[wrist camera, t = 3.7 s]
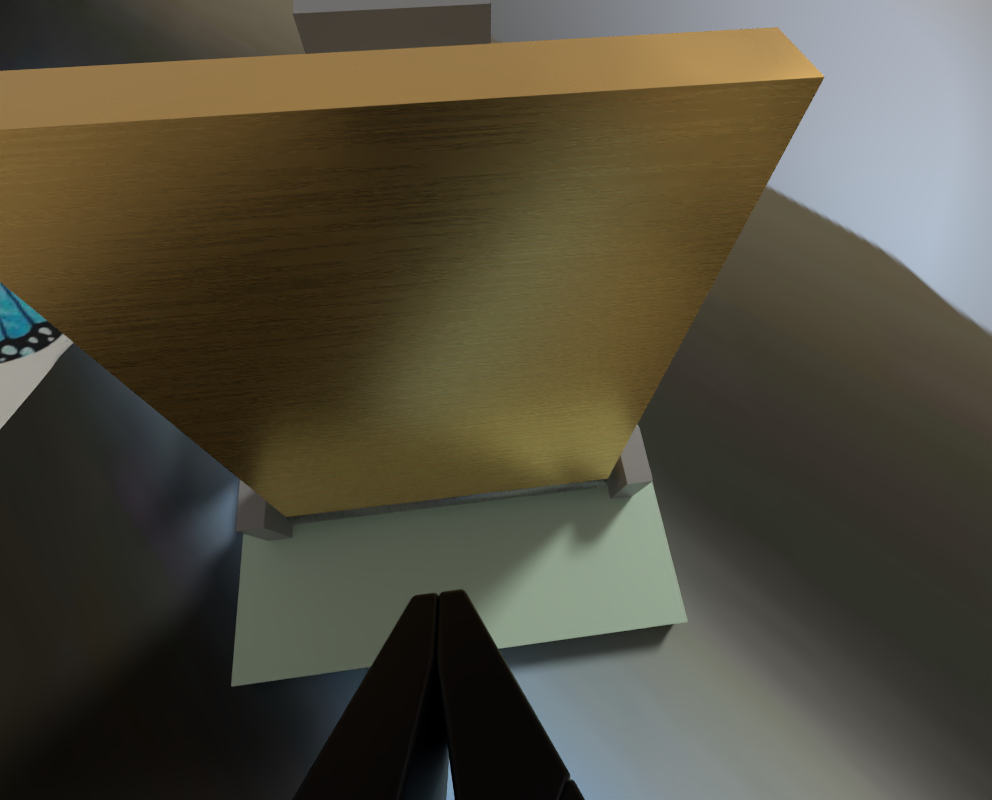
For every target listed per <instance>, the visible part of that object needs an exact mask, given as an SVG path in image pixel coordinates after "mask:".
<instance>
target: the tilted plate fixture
mask: <svg viewBox="0 0 992 800" xmlns="http://www.w3.org/2000/svg"><path fill="white" fill-rule="evenodd" d="M293 16H294V19H295V22H296V25H297V28H298V31H299V34H300V38H301V41H302V44H303V47H304V50H305V53H306V54H314V53H331V52H349V51H367V50H385V49H403V48H420V47H438V46H456V45H474V44H491V2H490V0H294V2H293ZM652 481H653V479H652V475H651V471H650V467H649V463H648V460H647V456H646V452H645V448H644V444H643V440H642V436H641V432H640V428H639V426H638V425H637V426H636V427H635V429H634V431H633V433H632V435H631V437H630V438H629V440H628V442H627V444H626V446H625V448H624V450H623V451H622V453H621V455H620V457H619V459H618V461H617V463H616V464H615V466H614V468H613V470H612V472H611V474H610V476H609V477H608V482H607V485H606V487H602V488H593V489H585V490H577V491H569V492H560V493H552V494H544V495H536V496H527V497H519V498H511V499H502V500H494V501H486V502H478V503H469V504H461V505H453V506H445V507H436V508H428V509H420V510H411V511H403V512H395V513H387V514H378V515H370V516H362V517H354V518H345V519H337V520H329V521H320V522H312V523H304V524H296V525H291V524H290V523H289V522H288V521H287V519H286V517H285V516H284V515H283V514H281V513H280V512H279V511H278V510H277V509H275V508H274V507H273V506H272V505H271V504H269V503H268V502H267V501H266V500H264V499H263V498H262V497H261V496H260V495H258V494H257V493H256V492H255V491H254V490H252V489H251V488H250V487H249V486H247V485H246V484H245V483H244V482H243V481H241V480H240V484H239V495H238V507H237V518H236V530H235V532H239V533H242V534H243V544H242V557H241V569H240V582H239V594H238V607H237V619H236V632H235V644H234V657H233V669H232V682H231V687H232V686H239V685H246V684H253V683H260V682H267V681H274V680H282V679H289V678H296V677H303V676H310V675H317V674H324V673H331V672H338V671H345V670H352V669H359V668H366V667H371V665H372V664H373V662H374V660H375V659H376V657H377V655H378V654H379V652H380V650H381V648H382V647H383V645H384V643H385V642H386V640H387V638H388V637H389V635H390V633H391V632H392V630H393V628H394V626H395V625H396V623H397V621H398V620H399V618H400V616H401V615H402V613H403V611H404V609H405V608H406V606H407V604H408V603H409V601H410V599H411V598H412V597H413V596H415V595H419V594H427V593H437V594H438V595H440V593H441V592H443V591H450V590H457V589H463V590H464V591H465V592H466V593H467V595H468V596H469V598H470V600H471V602H472V603H473V605H474V607H475V609H476V610H477V612H478V614H479V616H480V617H481V619H482V621H483V623H484V624H485V626H486V628H487V630H488V631H489V633H490V635H491V637H492V638H493V640H494V642H495V644H496V645H497V647H498V649H500V648H507V647H514V646H521V645H528V644H535V643H542V642H549V641H556V640H563V639H570V638H577V637H585V636H592V635H599V634H606V633H613V632H620V631H627V630H634V629H641V628H648V627H655V626H662V625H669V624H676V623H683V622H688V621H687V617H686V613H685V609H684V605H683V601H682V597H681V593H680V589H679V585H678V582H677V578H676V574H675V570H674V566H673V562H672V558H671V554H670V550H669V546H668V542H667V539H666V535H665V531H664V527H663V523H662V519H661V515H660V511H659V507H658V503H657V499H656V496H655V492H654V488H653V484H652Z"/></svg>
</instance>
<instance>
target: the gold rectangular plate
mask: <svg viewBox="0 0 992 800" xmlns="http://www.w3.org/2000/svg"><path fill="white" fill-rule="evenodd" d="M823 79H824V76H823V75H822V74H821V73H820V72H819V71H818V70H817V69H816V67H815V66H814V65H813V64H812V63H811V62H810V61H809V60H808V59H807V58H806V57H805V56H804V55H803V54H802V53H801V52H800V51H799V50H798V48H797V47H796V46H795V45H794V44H793V43H792V42H791V41H790V40H789V39H788V38H787V37H786V36H785V35H784V34H783V33H782V32H781V31H780V30H779V28H777V27H776V28H760V29H759V28H758V29H740V30H724V31H705V32H687V33H670V34H651V35H635V36H618V37H599V38H580V39H563V40H545V41H530V42H529V41H528V42H510V43H491V44H474V45H456V46H438V47H420V48H403V49H385V50H367V51H349V52H331V53H314V54H296V55H278V56H260V57H243V58H225V59H207V60H189V61H171V62H154V63H136V64H118V65H100V66H83V67H65V68H47V69H29V70H11V71H0V282H1V283H2V284H3V285H4V286H6V287H7V288H8V289H9V290H10V291H12V292H13V293H14V294H15V295H17V296H18V297H19V298H20V299H21V300H23V301H24V302H25V303H26V304H27V305H29V306H30V307H31V308H32V309H34V310H35V311H36V312H37V313H38V314H40V315H41V316H42V317H43V318H44V319H46V320H47V321H48V322H49V323H51V324H52V325H53V326H54V327H55V328H57V329H58V330H59V331H60V332H61V333H63V334H64V335H65V336H66V337H68V338H69V339H70V340H71V341H72V342H74V343H75V344H76V345H77V346H79V347H80V348H81V349H82V350H83V351H85V352H86V353H87V354H88V355H89V356H91V357H92V358H93V359H94V360H96V361H97V362H98V363H99V364H100V365H102V366H103V367H104V368H105V369H106V370H108V371H109V372H110V373H111V374H113V375H114V376H115V377H116V378H117V379H119V380H120V381H121V382H122V383H123V384H125V385H126V386H127V387H128V388H130V389H131V390H132V391H133V392H134V393H136V394H137V395H138V396H139V397H140V398H142V399H143V400H144V401H145V402H147V403H148V404H149V405H150V406H151V407H153V408H154V409H155V410H156V411H158V412H159V413H160V414H161V415H162V416H164V417H165V418H166V419H167V420H168V421H170V422H171V423H172V424H173V425H175V426H176V427H177V428H178V429H179V430H181V431H182V432H183V433H184V434H185V435H187V436H188V437H189V438H190V439H192V440H193V441H194V442H195V443H196V444H198V445H199V446H200V447H201V448H202V449H204V450H205V451H206V452H207V453H209V454H210V455H211V456H212V457H213V458H215V459H216V460H217V461H218V462H219V463H221V464H222V465H223V466H224V467H226V468H227V469H228V470H229V471H230V472H232V473H233V474H234V475H235V476H237V477H238V478H239V479H240V480H241V481H243V482H244V483H245V484H246V485H247V486H249V487H250V488H251V489H252V490H254V491H255V492H256V493H257V494H258V495H260V496H261V497H262V498H263V499H264V500H266V501H267V502H268V503H269V504H271V505H272V506H273V507H274V508H275V509H277V510H278V511H279V512H280V513H281V514H283V515H284V516H285V517H286V519H287V521H288V522H289V523H290V524H291V525H296V524H304V523H312V522H320V521H329V520H337V519H345V518H354V517H362V516H370V515H378V514H387V513H395V512H403V511H411V510H420V509H428V508H436V507H445V506H453V505H461V504H469V503H478V502H486V501H494V500H502V499H511V498H519V497H527V496H536V495H544V494H552V493H560V492H569V491H577V490H585V489H593V488H602V487H606V485H607V482H608V477H609V476H610V474H611V472H612V470H613V468H614V466H615V464H616V463H617V461H618V459H619V457H620V455H621V453H622V451H623V450H624V448H625V446H626V444H627V442H628V440H629V438H630V437H631V435H632V433H633V431H634V429H635V427H636V426H637V424H638V422H639V420H640V418H641V416H642V414H643V413H644V411H645V409H646V407H647V405H648V403H649V401H650V400H651V398H652V396H653V394H654V392H655V390H656V388H657V387H658V385H659V383H660V381H661V379H662V377H663V375H664V374H665V372H666V370H667V368H668V366H669V364H670V362H671V361H672V359H673V357H674V355H675V353H676V351H677V350H678V348H679V346H680V344H681V342H682V340H683V338H684V337H685V335H686V333H687V331H688V329H689V327H690V325H691V324H692V322H693V320H694V318H695V316H696V314H697V312H698V311H699V309H700V307H701V305H702V303H703V301H704V299H705V298H706V296H707V294H708V292H709V290H710V288H711V286H712V285H713V283H714V281H715V279H716V277H717V275H718V273H719V272H720V270H721V268H722V266H723V264H724V262H725V261H726V259H727V257H728V255H729V253H730V251H731V249H732V248H733V246H734V244H735V242H736V240H737V238H738V236H739V235H740V233H741V231H742V229H743V227H744V225H745V223H746V222H747V220H748V218H749V216H750V214H751V212H752V210H753V209H754V207H755V205H756V203H757V201H758V199H759V197H760V196H761V194H762V192H763V190H764V188H765V186H766V185H767V183H768V181H769V179H770V177H771V175H772V173H773V171H774V170H775V168H776V166H777V164H778V162H779V160H780V159H781V157H782V155H783V153H784V151H785V149H786V147H787V145H788V144H789V142H790V140H791V138H792V136H793V134H794V133H795V131H796V129H797V127H798V125H799V123H800V121H801V119H802V118H803V116H804V114H805V112H806V110H807V108H808V107H809V105H810V103H811V101H812V99H813V97H814V96H815V94H816V92H817V90H818V88H819V86H820V84H821V83H822V81H823Z"/></svg>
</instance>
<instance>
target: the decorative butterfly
mask: <svg viewBox="0 0 992 800" xmlns="http://www.w3.org/2000/svg"><path fill="white" fill-rule="evenodd" d="M72 343H74V342H72V341H71V340H70V339H69V338H68V337H66V336H65V335H64V334H63V333H61V332H60V331H59V330H58V329H57V328H55V327H54V326H53V325H52V324H51V323H49V322H48V321H47V320H46V319H44V318H43V317H42V316H41V315H40V314H38V313H37V312H36V311H35V310H34V309H32V308H31V307H30V306H29V305H27V304H26V303H25V302H24V301H23V300H21V299H20V298H19V297H18V296H17V295H15V294H14V293H13V292H12V291H10V290H9V289H8V288H7V287H6V286H4V285H3V284H2V283H1V282H0V429H1V427H2V426H3V425H4V424H5V423H6V422H7V420H8V419H9V418H10V417H11V416H12V415H13V413H14V412H15V411H16V410H17V409H18V407H19V406H20V405H21V404H22V403H23V402H24V400H25V399H26V398H27V397H28V396H29V394H30V393H31V392H32V391H33V390H34V389H35V387H36V386H37V385H38V384H39V383H40V381H41V380H42V379H43V378H44V377H45V375H46V374H47V373H48V372H49V370H50V369H51V368H52V366H53V365H54V364H55V362H56V361H57V359H58V358H59V357H60V356H61V355H62V354H63V353H64V352H65V351H66V350H67V348H68V347H69V346H70V345H71V344H72Z"/></svg>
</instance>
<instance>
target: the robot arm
mask: <svg viewBox="0 0 992 800" xmlns="http://www.w3.org/2000/svg"><path fill="white" fill-rule="evenodd" d="M449 760H450V768H451V775H452V782H453V789H454V797H455V800H585V799H584V797H583V796H582V794H581V792H580V790H579V789H578V787H577V785H576V783H575V782H574V781H573V780H570V774H569V772H568V770H567V768H566V766H565V765H564V763H563V761H562V759H561V758H560V756H559V754H558V752H557V751H556V749H555V747H554V745H553V744H552V742H551V740H550V738H549V737H548V735H547V733H546V731H545V730H544V728H543V726H542V724H541V723H540V721H539V719H538V717H537V716H536V714H535V712H534V710H533V709H532V707H531V705H530V703H529V702H528V700H527V698H526V696H525V695H524V693H523V691H522V689H521V688H520V686H519V684H518V682H517V680H516V679H515V677H514V675H513V673H512V672H511V670H510V668H509V666H508V665H507V663H506V661H505V659H504V658H503V656H502V654H501V652H500V651H499V649H498V647H497V645H496V644H495V642H494V640H493V638H492V637H491V635H490V633H489V631H488V630H487V628H486V626H485V624H484V623H483V621H482V619H481V617H480V616H479V614H478V612H477V610H476V609H475V607H474V605H473V603H472V602H471V600H470V598H469V596H468V595H467V593H466V592H465V591H464V590H463V589H457V590H450V591H443V592H441V593H440V595H438V594H437V593H427V594H419V595H415V596H413V597H412V598H411V599H410V601H409V603H408V604H407V606H406V608H405V609H404V611H403V613H402V615H401V616H400V618H399V620H398V621H397V623H396V625H395V626H394V628H393V630H392V632H391V633H390V635H389V637H388V638H387V640H386V642H385V643H384V645H383V647H382V648H381V650H380V652H379V654H378V655H377V657H376V659H375V660H374V662H373V664H372V665H371V667H370V669H369V670H368V672H367V674H366V676H365V677H364V679H363V681H362V682H361V684H360V686H359V687H358V689H357V691H356V693H355V694H354V696H353V698H352V699H351V701H350V703H349V704H348V706H347V708H346V709H345V711H344V713H343V715H342V716H341V718H340V720H339V721H338V723H337V725H336V726H335V728H334V730H333V731H332V733H331V735H330V737H329V738H328V740H327V742H326V743H325V745H324V747H323V748H322V750H321V752H320V753H319V755H318V757H317V759H316V760H315V762H314V764H313V765H312V767H311V769H310V770H309V772H308V774H307V776H306V777H305V779H304V781H303V782H302V784H301V786H300V787H299V789H298V791H297V792H296V794H295V796H294V798H293V799H292V800H446V795H447V780H448V765H449Z"/></svg>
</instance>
